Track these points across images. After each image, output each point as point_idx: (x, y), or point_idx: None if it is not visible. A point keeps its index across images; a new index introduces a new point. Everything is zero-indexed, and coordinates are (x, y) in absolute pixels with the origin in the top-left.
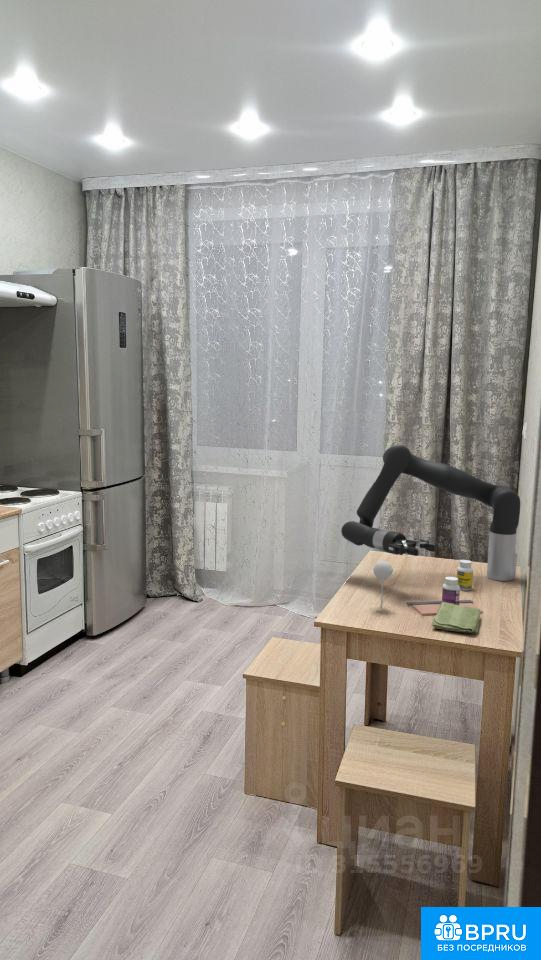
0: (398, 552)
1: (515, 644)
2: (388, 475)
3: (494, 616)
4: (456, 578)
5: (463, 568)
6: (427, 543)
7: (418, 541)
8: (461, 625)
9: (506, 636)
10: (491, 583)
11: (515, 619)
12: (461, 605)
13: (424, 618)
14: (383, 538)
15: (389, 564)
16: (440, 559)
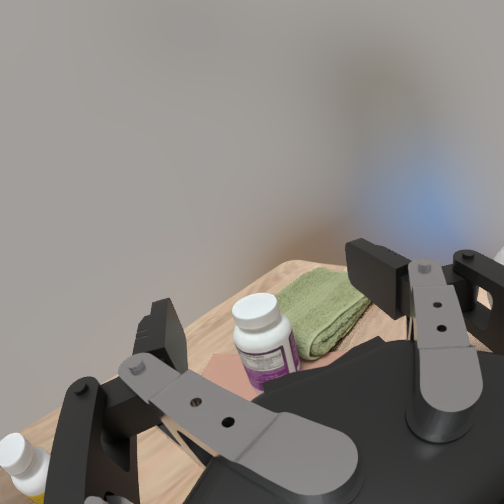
0: (482, 315)
1: (276, 267)
2: None
3: (208, 342)
4: (239, 303)
5: (41, 460)
6: (152, 341)
7: (196, 376)
8: (333, 272)
9: (267, 282)
10: (8, 481)
11: (187, 328)
12: (230, 391)
13: (381, 336)
14: None
15: (502, 250)
16: None
